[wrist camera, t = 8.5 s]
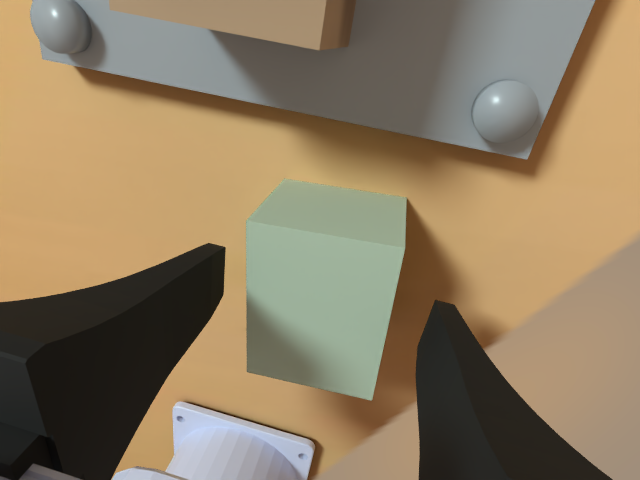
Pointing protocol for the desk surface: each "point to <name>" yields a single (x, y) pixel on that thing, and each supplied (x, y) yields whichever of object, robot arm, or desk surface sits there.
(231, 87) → the baseplate
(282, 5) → the walnut brick
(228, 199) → the desk surface
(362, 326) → the sage brick
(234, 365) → the desk surface
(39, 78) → the desk surface
